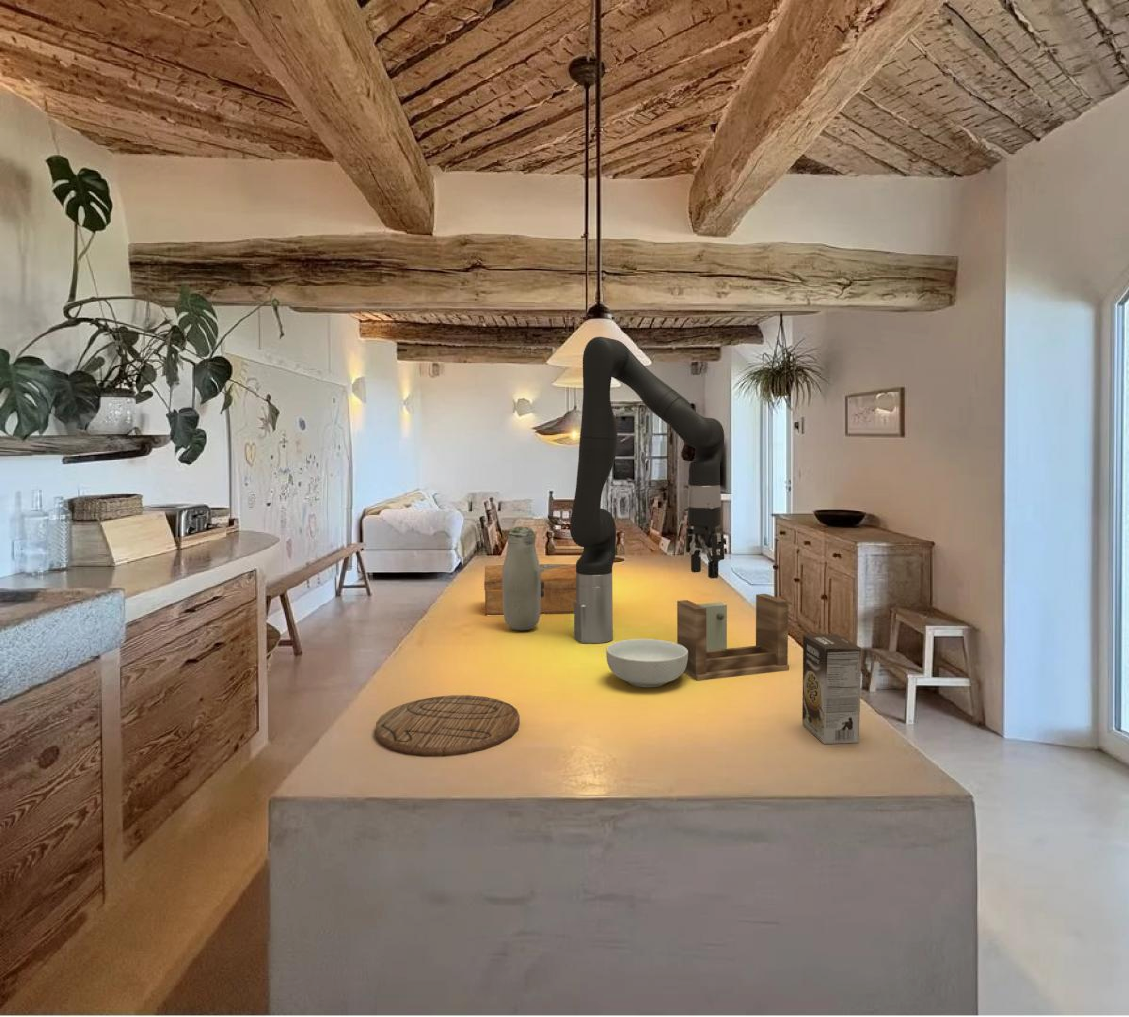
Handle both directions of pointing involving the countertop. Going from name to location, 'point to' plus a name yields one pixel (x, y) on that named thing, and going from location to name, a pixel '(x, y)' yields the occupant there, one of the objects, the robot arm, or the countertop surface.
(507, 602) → the grey green bottle
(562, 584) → the wooden box
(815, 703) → the coffee box
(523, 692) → the countertop surface
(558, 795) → the countertop surface
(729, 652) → the brown wooden stand
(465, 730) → the trivet
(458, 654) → the countertop surface
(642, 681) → the cereal bowl
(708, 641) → the door panel
